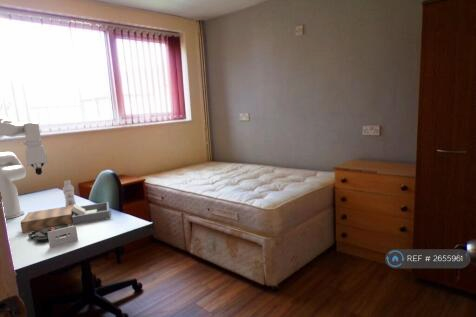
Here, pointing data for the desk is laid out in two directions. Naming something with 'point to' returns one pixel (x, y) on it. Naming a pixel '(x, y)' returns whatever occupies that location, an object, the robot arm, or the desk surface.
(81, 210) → the tile cream
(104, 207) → the bin
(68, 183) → the plastic bottle
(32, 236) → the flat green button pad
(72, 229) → the cassette
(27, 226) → the wooden block
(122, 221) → the desk surface
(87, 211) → the tile sage
